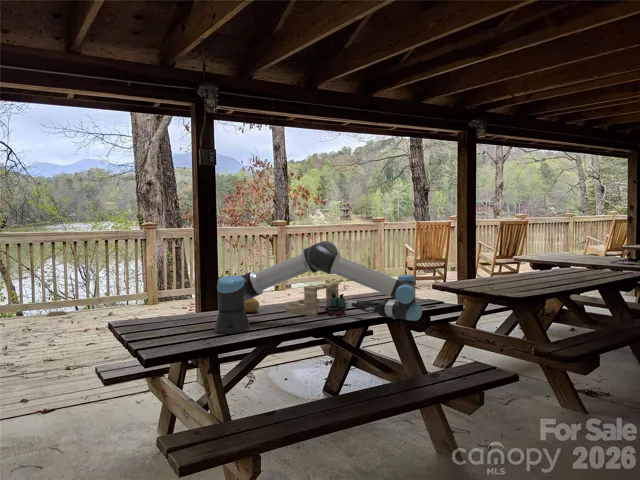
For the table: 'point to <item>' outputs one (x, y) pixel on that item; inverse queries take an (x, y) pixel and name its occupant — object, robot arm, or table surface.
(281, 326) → the table surface
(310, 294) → the tunnel
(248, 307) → the potato
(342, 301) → the binoculars
